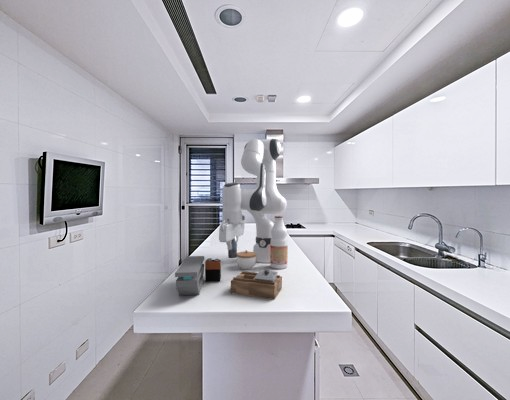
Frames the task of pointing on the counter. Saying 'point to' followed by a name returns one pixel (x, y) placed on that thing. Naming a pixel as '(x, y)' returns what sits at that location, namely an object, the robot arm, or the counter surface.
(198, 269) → the grey storage box
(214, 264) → the battery
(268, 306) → the counter surface
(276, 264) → the fruit juice
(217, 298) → the counter surface
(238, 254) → the lidded jar
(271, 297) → the socket block
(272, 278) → the square lid with knob
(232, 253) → the grey rounded cylinder
